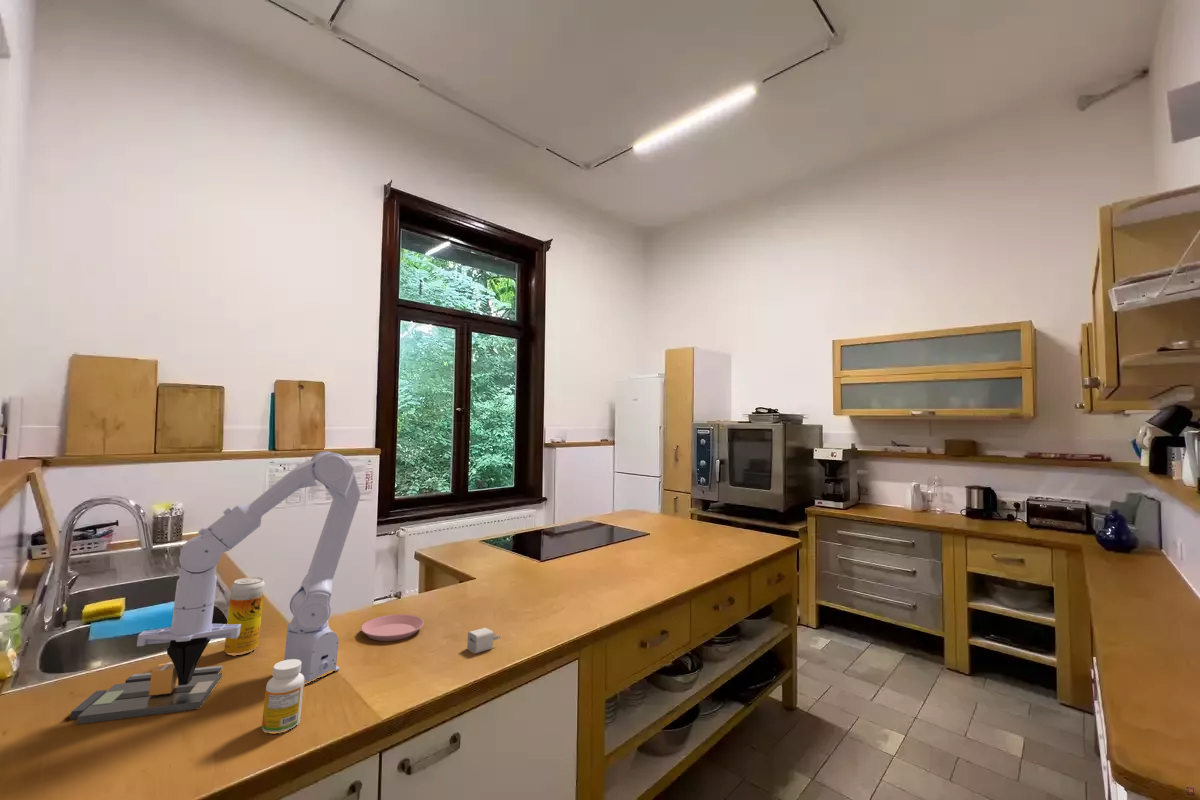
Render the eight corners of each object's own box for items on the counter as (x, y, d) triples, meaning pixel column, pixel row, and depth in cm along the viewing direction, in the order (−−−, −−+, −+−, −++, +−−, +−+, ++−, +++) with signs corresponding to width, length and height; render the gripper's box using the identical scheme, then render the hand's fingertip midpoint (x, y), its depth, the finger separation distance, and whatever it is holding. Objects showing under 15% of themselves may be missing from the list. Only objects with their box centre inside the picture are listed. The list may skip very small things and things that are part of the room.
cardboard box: (177, 685, 89) (180, 661, 90) (170, 693, 86) (173, 668, 87) (156, 687, 88) (159, 663, 88) (148, 695, 85) (151, 670, 86)
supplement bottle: (273, 716, 83) (279, 656, 84) (306, 716, 84) (312, 657, 85) (254, 735, 78) (260, 671, 79) (289, 735, 79) (296, 671, 79)
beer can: (240, 658, 104) (248, 585, 105) (216, 655, 105) (224, 582, 106) (265, 647, 110) (272, 578, 111) (242, 644, 111) (249, 575, 112)
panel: (221, 679, 95) (222, 672, 95) (199, 709, 85) (200, 701, 85) (113, 691, 89) (114, 683, 89) (76, 724, 79) (77, 715, 79)
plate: (435, 629, 125) (436, 620, 125) (390, 649, 112) (391, 640, 112) (393, 618, 131) (394, 610, 131) (346, 636, 118) (347, 628, 118)
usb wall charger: (466, 649, 114) (468, 631, 115) (492, 641, 119) (493, 624, 119) (476, 654, 111) (477, 636, 112) (501, 646, 116) (503, 629, 117)
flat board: (222, 670, 98) (223, 664, 98) (196, 704, 86) (197, 696, 86) (114, 681, 92) (115, 674, 92) (70, 719, 80) (71, 711, 80)
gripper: (132, 614, 83) (121, 699, 82) (235, 608, 89) (226, 687, 87) (152, 601, 90) (142, 679, 89) (246, 596, 95) (238, 670, 94)
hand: (185, 682), depth 88 cm, fingers closed
